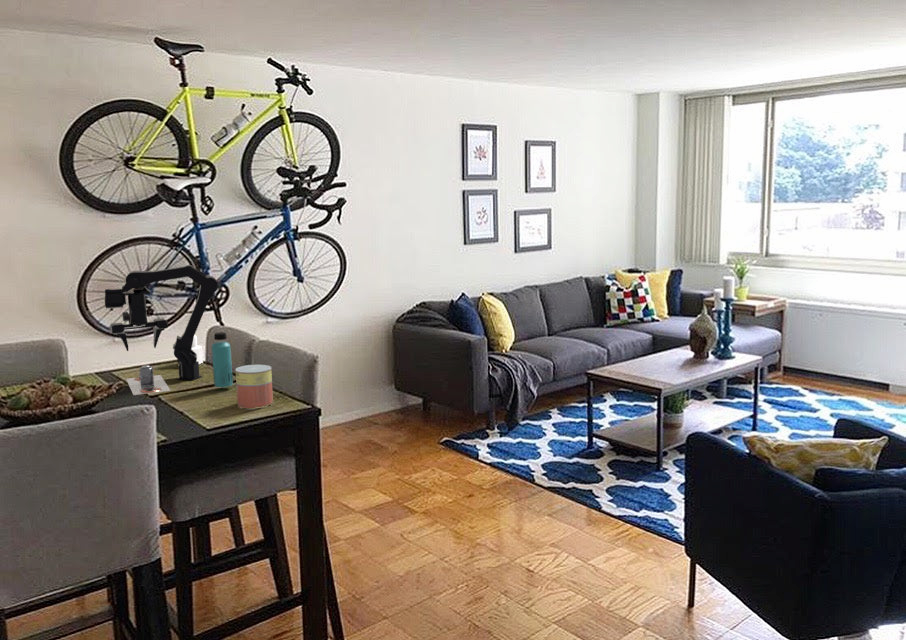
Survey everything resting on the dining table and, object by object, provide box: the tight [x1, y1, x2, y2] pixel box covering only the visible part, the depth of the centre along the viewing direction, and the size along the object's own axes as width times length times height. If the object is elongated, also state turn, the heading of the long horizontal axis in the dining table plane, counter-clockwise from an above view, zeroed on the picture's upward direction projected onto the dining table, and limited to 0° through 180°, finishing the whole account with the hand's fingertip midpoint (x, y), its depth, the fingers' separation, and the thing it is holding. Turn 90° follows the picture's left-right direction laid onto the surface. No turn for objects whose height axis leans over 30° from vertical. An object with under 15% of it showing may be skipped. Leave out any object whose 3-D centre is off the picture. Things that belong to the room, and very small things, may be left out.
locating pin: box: [139, 364, 154, 385], centre depth 274 cm, size 4×4×7 cm
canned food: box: [235, 363, 274, 409], centre depth 246 cm, size 11×11×12 cm
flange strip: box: [125, 373, 171, 396], centre depth 274 cm, size 26×12×2 cm, turn 28°
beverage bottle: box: [211, 332, 234, 388], centre depth 265 cm, size 6×7×20 cm
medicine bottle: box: [176, 334, 204, 366], centre depth 304 cm, size 7×7×12 cm
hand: (141, 349), depth 275 cm, fingers open, 9 cm apart
